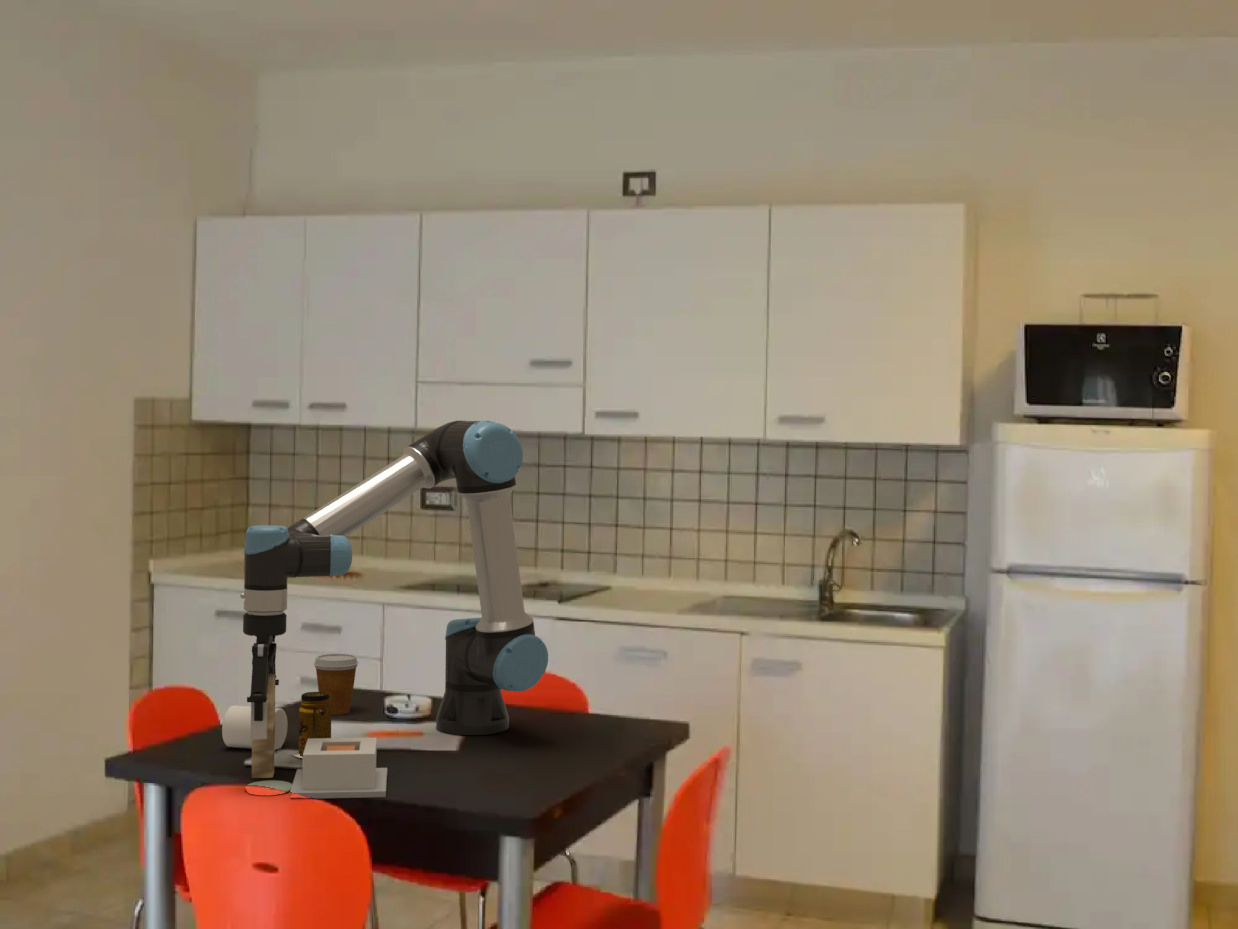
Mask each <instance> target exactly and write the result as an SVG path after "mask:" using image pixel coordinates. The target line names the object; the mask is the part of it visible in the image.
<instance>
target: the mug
mask: <svg viewBox="0 0 1238 929" xmlns="http://www.w3.org/2000/svg"><path fill="white" fill-rule="evenodd" d="M221 732H222V733H221V734H222V740H223V743H224V744H225V745H226V747H229V748H237V749H251V750H252V739H250V734H251V705H250V706H248V705H231V706H230V707H229V708H228V709H227V710H226V712H225V714H224V716H223V721H222V727H221ZM287 733H288V716H287V713H286V712H285V710H284V709H282V708H279V707H275V751H277V750H276V749H278V750H280V749H281V748H282V747H283V745H284V743H285V741H286V737H287V735H288V734H287ZM279 748H280V749H279Z"/></svg>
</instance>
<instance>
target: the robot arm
mask: <svg viewBox="0 0 1238 929" xmlns="http://www.w3.org/2000/svg"><path fill="white" fill-rule="evenodd" d="M523 459H524V453H523V447H522V444H521V440H520V439H519V437H518V435H516V433H515V432H514V431H513V430H512V429H511V428H509V427H508V426H507V425H504V424H502V423H499V422H496V421H490V420H454V421H451V422H447V423H445V424H443V425H441V426H438V427H436V428H435V429H433V430H432V431H429V432H427V433H426V434H425V435H424V436H422V437H421V438H419V439H417V440H416V441H414V442H413V443H411V444H409V445H408V446H406V447H405V448H403V453H402V456H399V457H398V458H396V459H395V460H393V461H392V462H390V463H389V464H387V465H385V466H384V467H383V468H381V469H379V470H378V471H376V472H374V473H373V474H371V475H370V476H368V477H366V478H365V479H363V480H362V481H360V482H359V483H357V484H355V485H354V486H353V487H352V486H351V488H349V489H347V490H346V491H344V492H343V493H341V494H340V495H338V496H337V497H335V498H333V499H331V500H330V501H329V502H327V503H325V504H324V505H322V506H321V507H318V508H317V509H316V510H314V511H312V512H310V513H309V514H308V515H306V516H305V517H304V518H301V519H300V520H298V521H297V522H295V523H292V524H291V525H290V526H288V527H286V526H285V525H274V524H273V525H271V524H270V525H269V524H267V525H266V524H262V525H261V524H259V525H252V526H251V525H250V526H249V527H248V528H247V529H246V531H245V538H244V548H243V554H244V555H243V557H244V558H243V561H244V564H243V565H244V566H243V567H244V568H243V569H244V573H243V574H244V575H243V577H244V578H243V580H244V581H243V582H244V583H243V592H242V593H240V595H239V597H240V598H241V599H244V601H243V610H244V611H246V612H245V613H244V614H243V616H242V618H243V619H242V620H243V621H242V632H243V634H245V635H246V636H249V637H256V640H255V642H254V643H253V645H252V646H251V655H252V659H251V666H252V670H251V682H250V683H251V685H250V695H249V696H247V697H246V702H247V703H250V706H251V734H250V739H267V701H266V700H267V686H268V675H269V674H276V660H277V659H276V657H277V646H278V645H277V642H276V637H277V636H282V635H284V634H286V632H287V614H286V613H285V611H286V610H287V609H288V579H289V578H290V579H291V578H295V579H296V578H309V577H313V578H314V577H329V578H332V577H334V576H343V575H345V574H347V573H348V572H349V570H350V569H351V565H352V564H353V563H352V562H353V551H352V550H353V549H352V546H351V542H350V540H349V539H348V538H347V537H348V536H350V535H351V534H352V533H354V532H356V531H358V530H359V529H360V528H362V527H364V526H365V525H367V524H368V523H370V522H372V521H373V520H374V519H376V518H378V517H379V516H381V515H382V514H384V513H385V512H387V511H388V510H390V509H392V508H393V507H395V506H397V505H398V504H399V503H402V501H404V500H405V499H407V498H409V497H411V496H412V495H413V494H415V493H417V492H418V491H420V490H421V489H423V488H424V489H432V488H433V487H436V485H438V484H440V483H442V482H445V481H449V480H454V479H455V483H456V490H457V494H458V495H459V496H461V497H462V498H463V499H465V502H466V508H467V512H468V513H467V515H468V522H469V523H468V524H469V529H470V538H471V543H472V552H473V553H472V554H473V559H474V560H473V561H474V568H475V575H476V582H477V583H476V584H477V589H478V599H479V605H480V612H481V617H470V618H458V619H452V620H450V621H448V622H447V625H446V630H445V638H444V640H445V672H444V673H445V680H444V681H445V682H444V683H445V686H444V689H445V690H444V693H443V696H442V698H441V702H440V704H439V709H438V710H437V713H436V714H437V715H436V718H435V719H436V720H435V722H436V723H435V728H436V730H438V731H439V730H440V731H439V732H443V733H445V734H446V733H447V734H451V735H452V734H453V735H461V736H484V735H493V734H497V733H499V734H500V733H502V732H505V731H507V730H508V729H509V728H510V717H509V713H508V709H507V707H506V703H505V700H504V697H503V692H502V690H503V691H505V692H506V691H507V692H517V693H519V692H520V693H521V692H524V691H527V690H531V689H532V688H533V687H535V686H536V685H537V684H538V683H539V682H540V680H541V678H542V676H544V675H545V673H546V670H547V667H548V663H549V651H548V648H547V646H546V644H545V642H544V641H543V640H542V639H541V638H540V637H539V636H536V631H535V622H534V618H533V617H532V616H531V615H530V614H528V613H527V612H526V611H525V607H524V606H525V604H524V597H523V596H524V595H523V589H522V581H521V573H520V565H519V558H518V550H517V542H516V536H515V526H514V519H513V510H512V503H511V497H510V495H511V494H512V492H514V489H515V488H516V487H517V481H516V475H517V474H518V473H519V470H520V468H521V467H522V464H523ZM276 678H277V677H276ZM276 678H275V686H279V685H280V684H279V683H280V679H276Z"/></svg>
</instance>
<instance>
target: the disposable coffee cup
mask: <svg viewBox="0 0 1238 929" xmlns="http://www.w3.org/2000/svg"><path fill="white" fill-rule="evenodd" d="M313 665H314V667H315V671H316V680H317V688H318V691H317V692H326V693H328V694H329V696H330V697H329V701H330V704H329V706H330V708H331V716H336V715H337V716H338V715H340V716H341V715H345V714H346V715H347V714H349V713H351V707H352V701H353V694H354V686H355V680H356V679H355V678H356V671H357V667H358V666H359V661H358V659H357V656H356V655H353V654H348V653H330V654H329V653H328V654H321V655H317V656H316V658H315V660H314V662H313Z"/></svg>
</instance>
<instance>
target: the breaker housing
mask: <svg viewBox="0 0 1238 929" xmlns="http://www.w3.org/2000/svg"><path fill="white" fill-rule="evenodd" d="M377 742H378V741H377V737H331V738H310V739H308V740H307V743H306V746H305V749H304V753H303V760H302V768H297V769H296V772H295V775H294V779H293V781H292V783H291V784H292V787H291V791H290V792H292V793H295V794H299V795H303V796H307V797H312V798H314V799H351V798H352V799H356V798H357V799H358V798H359V799H361V798H362V799H363V798H364V799H365V798H386V796H387V782H388V781H387V780H388V767H377V749H378V748H377ZM349 745H355V750H343V751H326V750H327V746H349ZM290 792H289V793H290Z"/></svg>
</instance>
